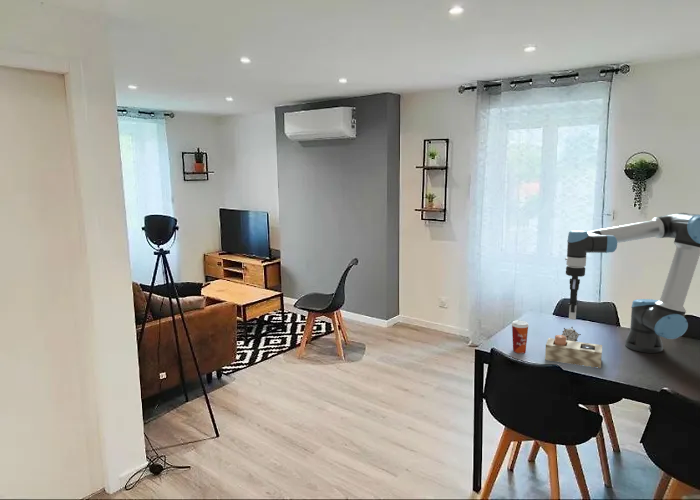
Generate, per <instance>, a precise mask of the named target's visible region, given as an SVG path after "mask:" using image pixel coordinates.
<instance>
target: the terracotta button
mask: <svg viewBox="0 0 700 500" xmlns="http://www.w3.org/2000/svg"><path fill="white" fill-rule="evenodd" d="M554 339H555V345H562V346H566V336H563V335H562V334H557V335H556V334H555V336H554Z"/></svg>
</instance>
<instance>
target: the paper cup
mask: <svg viewBox="0 0 700 500" xmlns="http://www.w3.org/2000/svg"><path fill="white" fill-rule="evenodd" d="M510 325H511V329H512V330H511V331H512V332H511V333H512V350H513V352H514V353H516V354H525V353H526V351H527V343H528V342H527V341H528V331H529V327H530V325H529V323H528V322H527V321H526V320H518V319H516V320H513V321H512V323H511V324H510Z"/></svg>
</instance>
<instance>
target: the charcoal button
mask: <svg viewBox="0 0 700 500" xmlns="http://www.w3.org/2000/svg"><path fill="white" fill-rule="evenodd" d="M582 348H583V349H591V350H594V348H593V347H592V346H588V345H584V346H582Z"/></svg>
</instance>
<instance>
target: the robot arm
mask: <svg viewBox="0 0 700 500" xmlns="http://www.w3.org/2000/svg"><path fill="white" fill-rule="evenodd" d="M650 238H656V239H663V238H664V239H665V238H667V239H668V238H669V239H671V238H672V239H674V240H673V243H674V245H675V247H676V249H675V250H674V251H675V252H674V254H673V257H672V261H671V264H670V266H669V267H670V268H669V270H668V273H667V276H666V280H665V283H664V286H663V289H662V292H661V295H660V298H659V299H652V298H651V299H650V298H647V299H646V298H639V299H638V298H636V299H634V300H633V301H632V304H631V315H630V329H629V332H628V334H627V336H626V338H625V341H624V342H625V343H624V346H625V347H626V348H628V349H631V351H632V350H633V351H635V352H640V353H644V354H645V353H648V354H658V353H661V352H663V351H664V350H663V349H664V344H663V340H662V338H664V339H668V340H676V339H678V338H679V337H682V336H683V335H684V334H685V333H686V332H687V330H688V327H689V323H688V320H687V319H686V318H685V315H686V313H687V312H686V311H687V310H686V308H685V307H684V305H685V301H686V298H687V296H688V293H689V289H690V286H691V283H692V280H693V277H694V274H695V271H696V269H697V268H696V267H697V264H698V261H699V259H700V214H698V213H697V214H695V213H688V212H677V213H676V212H675V213H673V214H671V213H670V214H666V215H663V216H657V217H653V218H652V219H651V220H646V221H640V222H639V221H638V222H635V223H627V224H622V225H619V226H618V225H617V226H612V227H606V228H605V227H604V228H599V229H593V230H583V229H582V230H577V229H576V230H575V229H573V230H570V231H569V232H568V236H567V250H566V252H567V253H566V257H565V258H564V260H565V261H566V266H565V275H567V276H569V291H570V294H569V295H570V297H569V302H568V303H567V305H568V306H569V309H568V319H569V320H572V321H573V320H577V305H579V302H578V291H579V289H580V283H581V279H580V278H582V277H585V275H586V265H587V254H588V253H589V254H590V253H591V254H594V253H597V254H598V253H600V254H601V253H602V254H603V253H604V254H605V253H606V254H607V253H609V254H610V253H614V252H615V251H616V250H617V248H618V244H620V243H625V242H632V241H638V240H643V239H650ZM661 337H662V338H661Z"/></svg>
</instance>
